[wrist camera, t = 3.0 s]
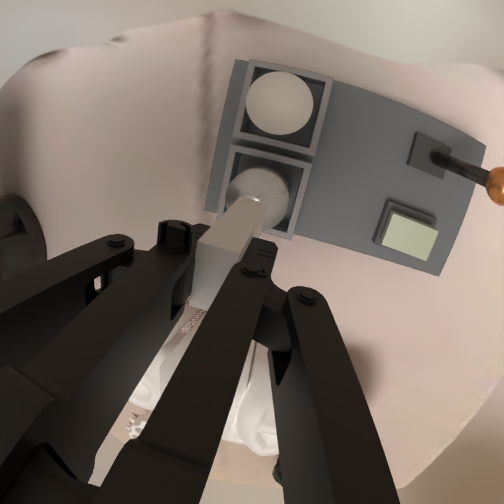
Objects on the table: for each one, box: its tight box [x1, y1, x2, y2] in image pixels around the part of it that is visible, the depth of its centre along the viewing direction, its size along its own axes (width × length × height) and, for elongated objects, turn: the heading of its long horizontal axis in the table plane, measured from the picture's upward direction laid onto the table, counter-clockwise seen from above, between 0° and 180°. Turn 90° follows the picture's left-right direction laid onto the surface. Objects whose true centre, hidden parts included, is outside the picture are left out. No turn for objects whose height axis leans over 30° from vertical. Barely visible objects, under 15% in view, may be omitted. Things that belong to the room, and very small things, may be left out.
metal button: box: [225, 165, 290, 231], centre depth 22 cm, size 4×4×3 cm
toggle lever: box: [431, 152, 504, 206], centre depth 17 cm, size 3×3×9 cm
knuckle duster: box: [126, 410, 152, 439], centre depth 51 cm, size 3×18×15 cm
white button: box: [246, 71, 313, 135], centre depth 19 cm, size 4×4×3 cm
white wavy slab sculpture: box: [128, 304, 279, 456], centre depth 34 cm, size 35×16×10 cm, turn 75°
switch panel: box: [205, 59, 486, 276], centre depth 24 cm, size 24×14×6 cm, turn 78°
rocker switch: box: [380, 210, 439, 261], centre depth 22 cm, size 4×3×1 cm, turn 78°
